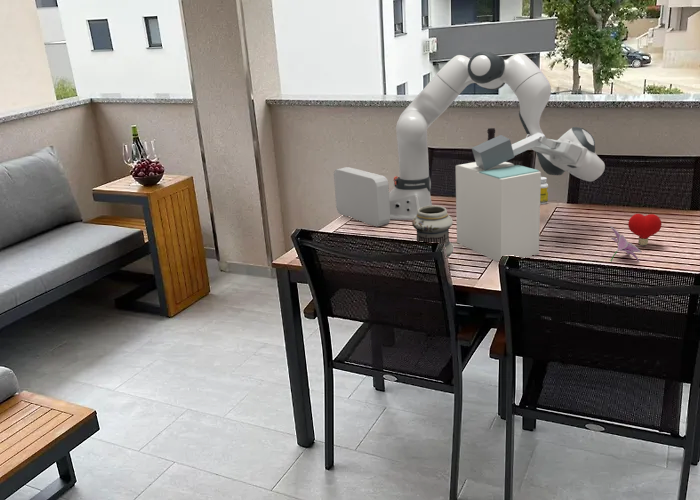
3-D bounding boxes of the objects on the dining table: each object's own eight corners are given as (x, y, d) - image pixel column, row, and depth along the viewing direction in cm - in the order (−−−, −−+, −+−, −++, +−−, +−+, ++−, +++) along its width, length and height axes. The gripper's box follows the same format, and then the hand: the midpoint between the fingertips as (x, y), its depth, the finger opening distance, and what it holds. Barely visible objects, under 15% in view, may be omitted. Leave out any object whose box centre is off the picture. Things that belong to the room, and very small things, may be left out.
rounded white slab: (395, 223, 243) (393, 175, 237) (378, 228, 239) (376, 179, 233) (352, 209, 266) (349, 164, 260) (336, 213, 262) (333, 168, 256)
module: (538, 137, 206) (534, 119, 204) (548, 142, 201) (544, 124, 198) (476, 165, 205) (471, 148, 202) (485, 170, 199) (480, 152, 197)
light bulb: (658, 242, 205) (661, 211, 202) (660, 250, 199) (663, 218, 195) (626, 241, 208) (628, 210, 205) (627, 248, 202) (629, 217, 198)
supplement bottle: (532, 204, 254) (532, 179, 251) (534, 200, 259) (534, 176, 256) (547, 204, 252) (547, 179, 249) (548, 201, 257) (549, 176, 254)
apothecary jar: (419, 276, 192) (417, 216, 186) (409, 262, 204) (406, 206, 198) (459, 271, 194) (458, 211, 188) (446, 257, 205) (445, 201, 199)
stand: (492, 234, 223) (492, 158, 215) (538, 254, 203) (541, 170, 194) (456, 242, 218) (455, 164, 210) (500, 263, 197) (501, 178, 189)
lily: (638, 273, 186) (654, 242, 185) (598, 256, 188) (613, 225, 187) (629, 271, 198) (644, 241, 197) (592, 254, 200) (605, 225, 199)
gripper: (546, 140, 218) (517, 124, 211) (591, 149, 200) (561, 131, 193) (538, 158, 218) (508, 142, 212) (582, 168, 201) (551, 152, 194)
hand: (534, 137), depth 202 cm, fingers closed on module, 4 cm apart
